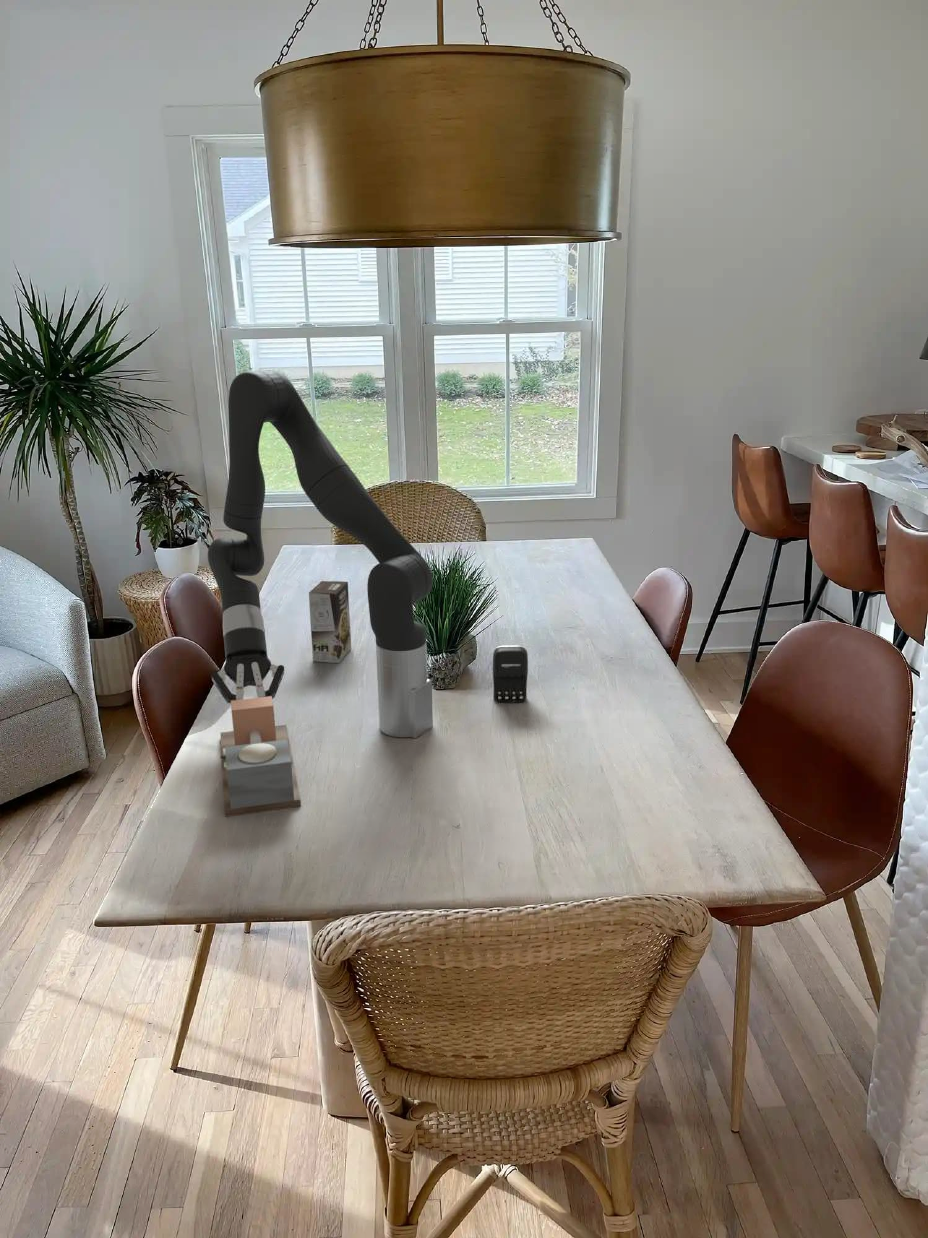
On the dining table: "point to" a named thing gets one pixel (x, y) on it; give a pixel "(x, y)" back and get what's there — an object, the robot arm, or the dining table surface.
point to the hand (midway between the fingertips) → (253, 721)
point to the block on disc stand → (253, 721)
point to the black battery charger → (510, 674)
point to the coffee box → (330, 621)
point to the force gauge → (258, 775)
